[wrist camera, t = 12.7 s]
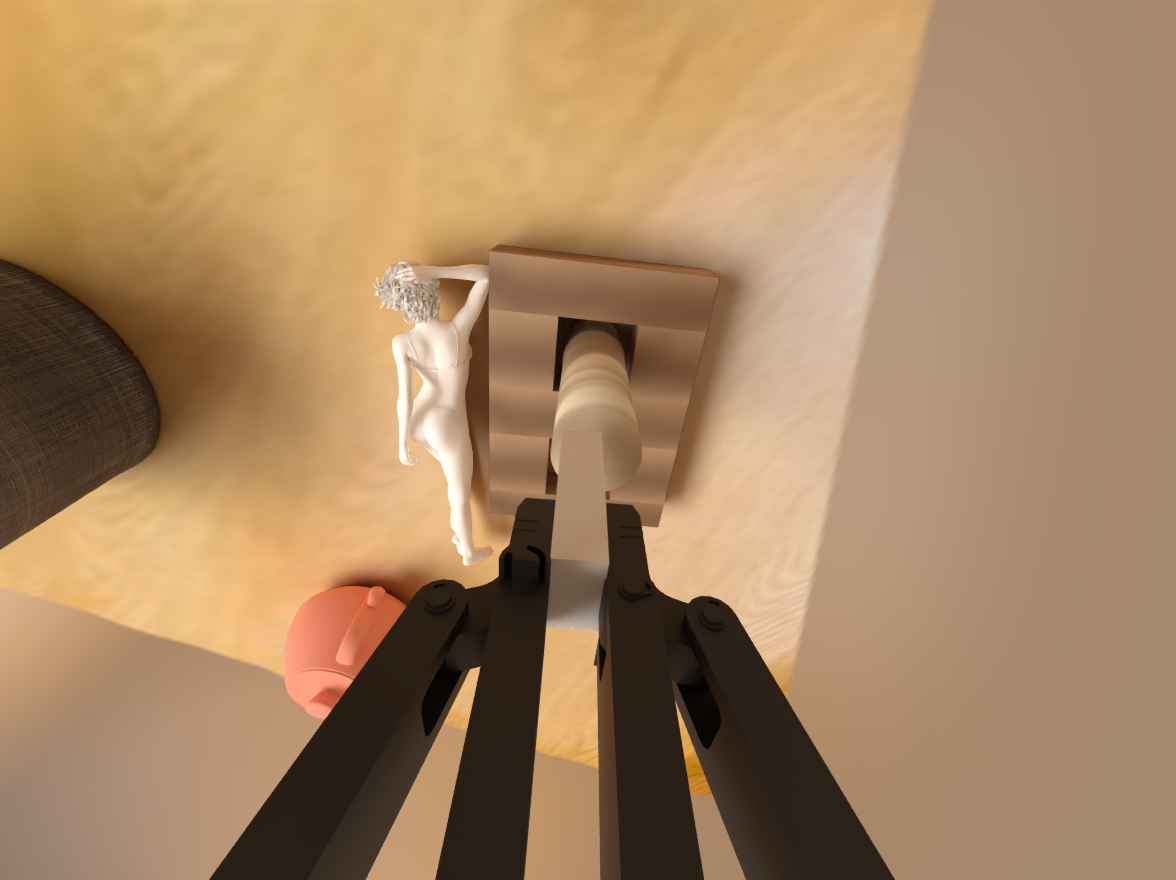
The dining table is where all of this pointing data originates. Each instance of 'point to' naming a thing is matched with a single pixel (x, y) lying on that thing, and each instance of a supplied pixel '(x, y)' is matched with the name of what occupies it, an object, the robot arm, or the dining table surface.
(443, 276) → the figurine
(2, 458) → the planter
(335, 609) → the sugar bowl
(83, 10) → the dining table surface
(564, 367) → the leg
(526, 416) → the board
